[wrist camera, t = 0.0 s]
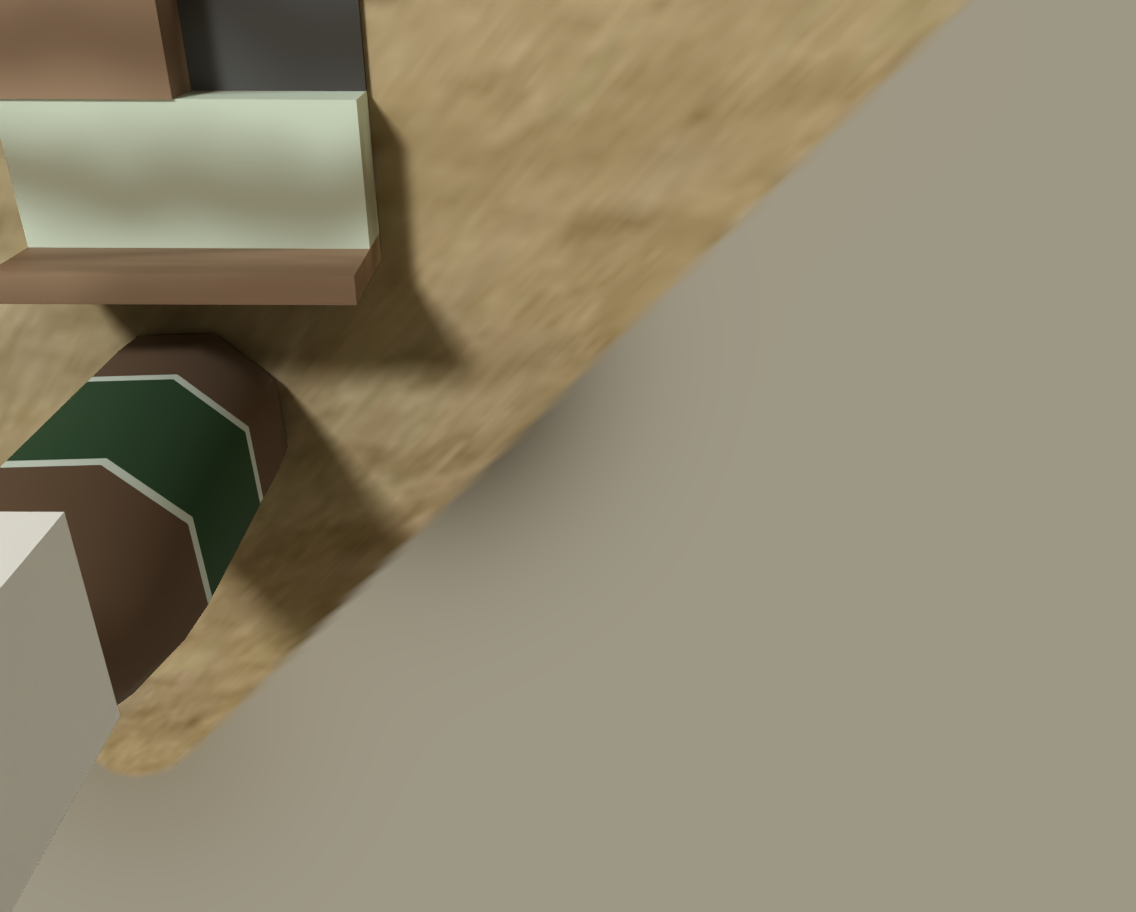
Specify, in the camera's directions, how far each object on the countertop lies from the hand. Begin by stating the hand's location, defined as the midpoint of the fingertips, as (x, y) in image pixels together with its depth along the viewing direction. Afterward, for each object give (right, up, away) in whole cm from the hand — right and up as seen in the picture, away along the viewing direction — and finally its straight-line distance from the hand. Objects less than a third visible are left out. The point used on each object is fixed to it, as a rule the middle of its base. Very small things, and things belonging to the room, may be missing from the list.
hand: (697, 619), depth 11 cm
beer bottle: (-16, +4, +30) cm, 34 cm away
